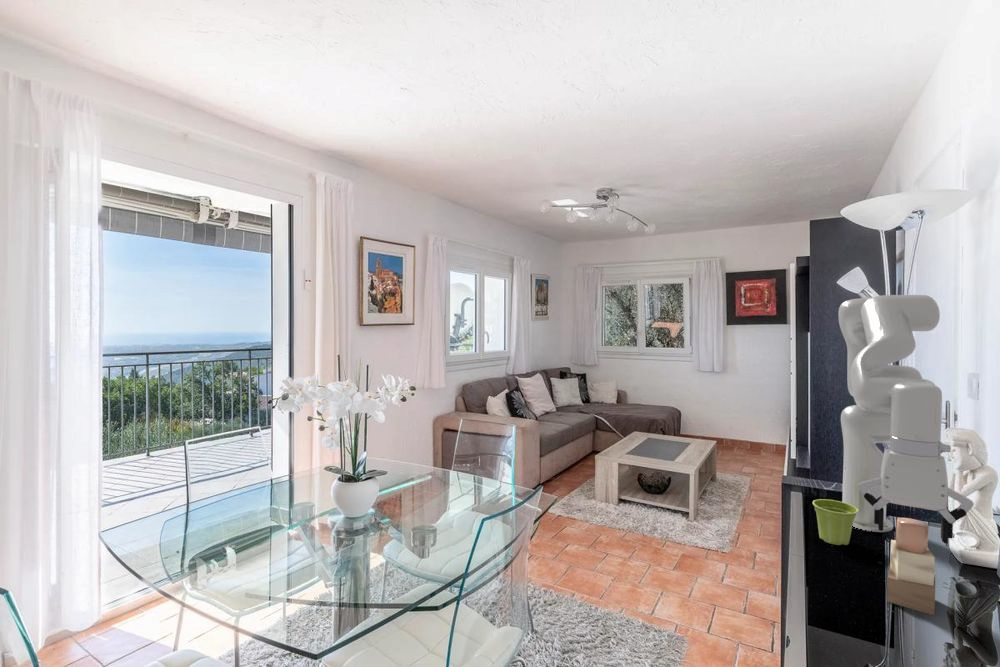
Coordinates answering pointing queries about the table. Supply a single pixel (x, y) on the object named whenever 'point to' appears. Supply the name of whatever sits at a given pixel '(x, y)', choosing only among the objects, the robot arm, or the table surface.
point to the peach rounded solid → (912, 535)
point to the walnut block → (911, 594)
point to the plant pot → (834, 520)
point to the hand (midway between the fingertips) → (911, 534)
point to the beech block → (912, 565)
